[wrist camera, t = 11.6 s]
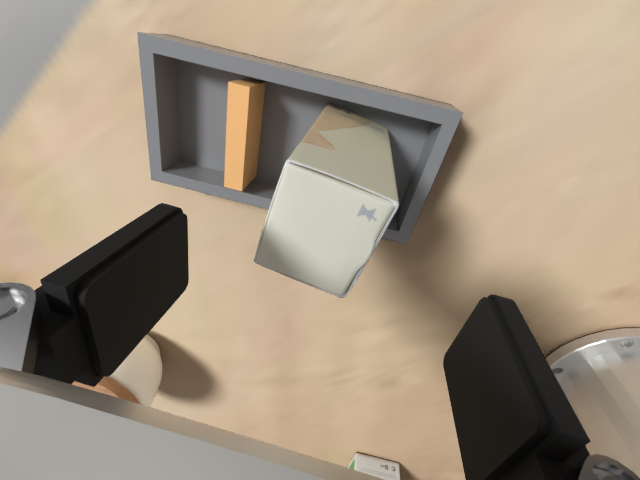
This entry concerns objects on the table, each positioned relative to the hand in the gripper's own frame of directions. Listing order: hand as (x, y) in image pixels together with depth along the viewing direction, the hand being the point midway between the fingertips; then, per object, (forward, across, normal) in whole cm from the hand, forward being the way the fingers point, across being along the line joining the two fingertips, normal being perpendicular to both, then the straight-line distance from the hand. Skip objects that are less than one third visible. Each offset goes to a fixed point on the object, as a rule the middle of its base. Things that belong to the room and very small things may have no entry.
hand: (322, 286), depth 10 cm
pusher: (+13, +7, -1) cm, 15 cm away
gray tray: (+14, +4, -1) cm, 14 cm away
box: (+14, +1, -1) cm, 14 cm away
